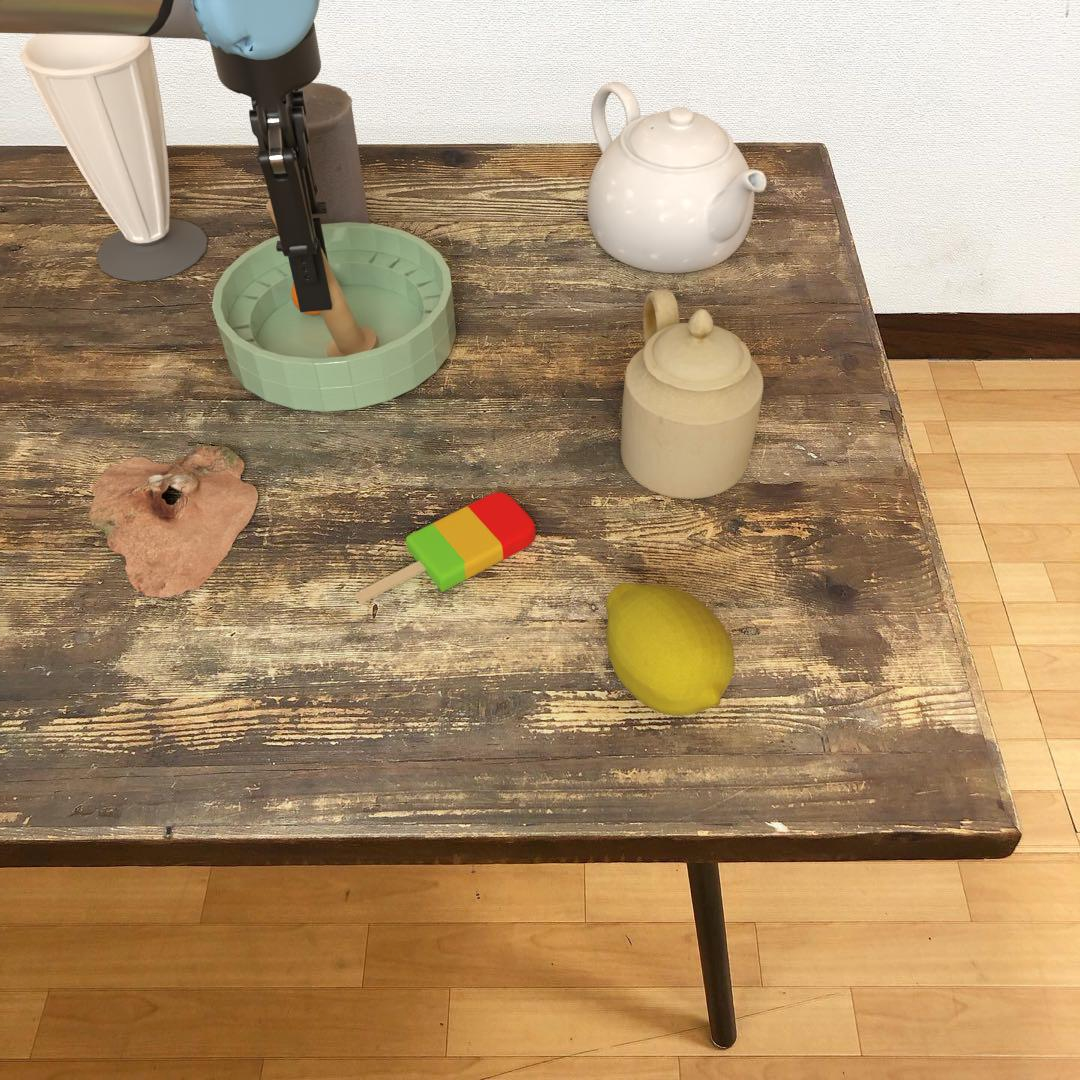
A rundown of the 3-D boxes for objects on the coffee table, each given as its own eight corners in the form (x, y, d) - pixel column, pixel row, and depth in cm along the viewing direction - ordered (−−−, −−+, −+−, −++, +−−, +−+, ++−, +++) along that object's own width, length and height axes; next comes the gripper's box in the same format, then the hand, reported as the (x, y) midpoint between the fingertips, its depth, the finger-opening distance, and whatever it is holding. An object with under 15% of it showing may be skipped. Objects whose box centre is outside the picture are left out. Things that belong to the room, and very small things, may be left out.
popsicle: (542, 541, 85) (542, 526, 83) (376, 630, 79) (372, 615, 78) (503, 500, 88) (502, 484, 86) (341, 583, 82) (337, 567, 81)
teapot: (758, 193, 118) (776, 71, 108) (750, 290, 106) (770, 163, 96) (591, 179, 121) (593, 59, 111) (564, 274, 109) (565, 148, 99)
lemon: (753, 718, 74) (769, 650, 68) (654, 762, 72) (662, 696, 66) (673, 607, 80) (682, 536, 74) (580, 644, 78) (582, 574, 72)
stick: (320, 364, 98) (241, 216, 86) (347, 330, 100) (275, 181, 89) (362, 371, 96) (287, 221, 84) (389, 336, 98) (319, 184, 86)
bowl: (218, 426, 94) (201, 373, 90) (236, 283, 109) (222, 231, 104) (463, 405, 96) (458, 352, 91) (449, 266, 110) (444, 214, 105)
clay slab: (237, 592, 82) (228, 566, 80) (63, 598, 82) (49, 573, 79) (263, 458, 91) (255, 431, 89) (107, 463, 91) (95, 437, 89)
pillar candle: (283, 258, 111) (252, 120, 100) (276, 209, 118) (246, 74, 106) (376, 244, 113) (355, 107, 101) (364, 197, 119) (344, 62, 108)
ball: (292, 323, 103) (276, 283, 102) (319, 312, 106) (303, 273, 105) (321, 315, 101) (305, 274, 99) (348, 304, 104) (332, 263, 102)
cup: (94, 231, 115) (17, 26, 99) (202, 212, 117) (144, 8, 101) (99, 291, 108) (17, 81, 92) (214, 269, 110) (154, 60, 94)
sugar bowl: (562, 428, 93) (562, 283, 82) (651, 373, 98) (663, 229, 87) (687, 522, 86) (705, 376, 75) (777, 457, 91) (807, 311, 79)
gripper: (311, 67, 71) (360, 349, 89) (315, -26, 81) (358, 243, 99) (196, 75, 70) (269, 357, 88) (215, -20, 81) (276, 250, 98)
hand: (316, 296), depth 93 cm, fingers closed on stick, 2 cm apart
